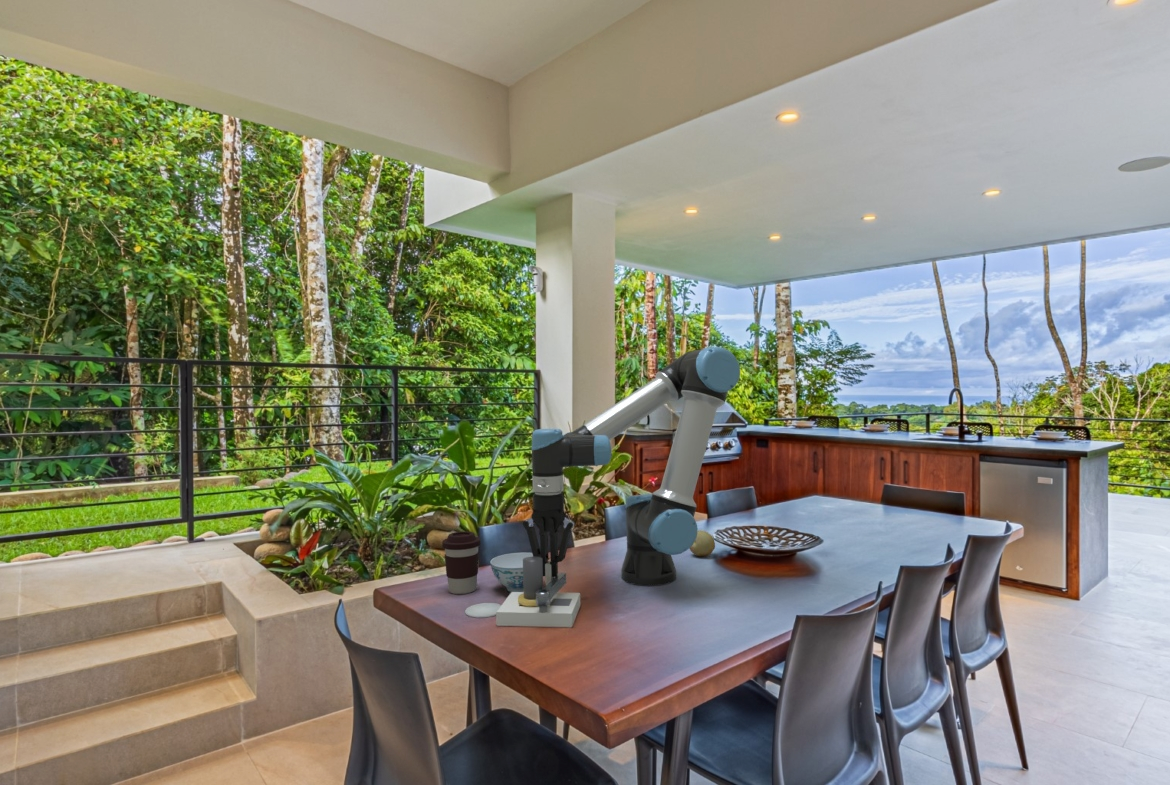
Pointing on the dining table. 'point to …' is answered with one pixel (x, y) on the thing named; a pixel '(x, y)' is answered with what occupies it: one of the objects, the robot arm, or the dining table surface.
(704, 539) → the fruit
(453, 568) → the coffee cup
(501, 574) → the chinaware
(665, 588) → the dining table surface
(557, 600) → the socket block
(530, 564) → the plug
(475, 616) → the mat
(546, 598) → the grey lever handle
